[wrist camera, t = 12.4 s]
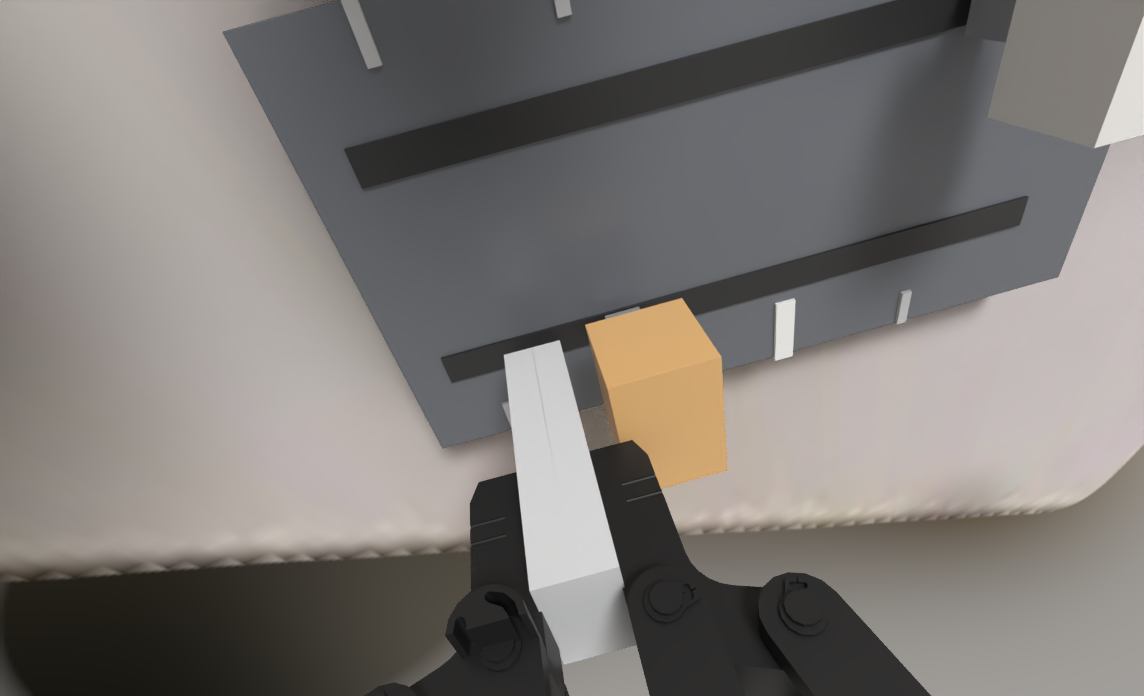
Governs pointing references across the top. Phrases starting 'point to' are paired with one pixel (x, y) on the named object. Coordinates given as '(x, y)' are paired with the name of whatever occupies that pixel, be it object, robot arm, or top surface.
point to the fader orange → (663, 388)
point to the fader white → (1067, 66)
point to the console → (654, 173)
